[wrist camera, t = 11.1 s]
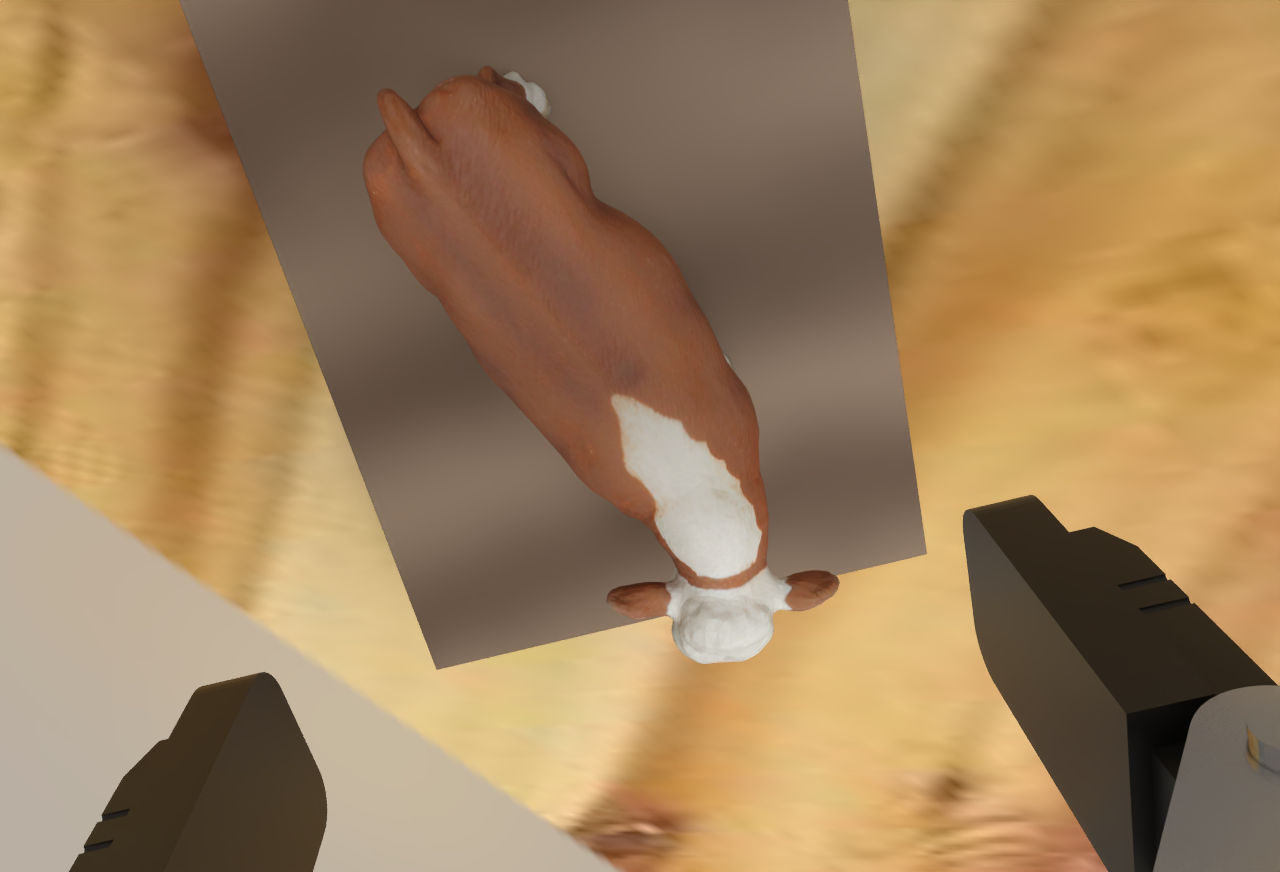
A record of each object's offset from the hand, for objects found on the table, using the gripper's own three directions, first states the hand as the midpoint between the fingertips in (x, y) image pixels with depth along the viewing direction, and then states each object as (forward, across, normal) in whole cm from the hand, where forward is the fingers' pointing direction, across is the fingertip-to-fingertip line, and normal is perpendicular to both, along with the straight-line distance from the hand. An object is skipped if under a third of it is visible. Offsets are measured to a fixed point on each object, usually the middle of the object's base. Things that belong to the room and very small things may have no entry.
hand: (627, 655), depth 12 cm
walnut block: (+20, 0, 0) cm, 21 cm away
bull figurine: (+15, 0, 0) cm, 15 cm away
